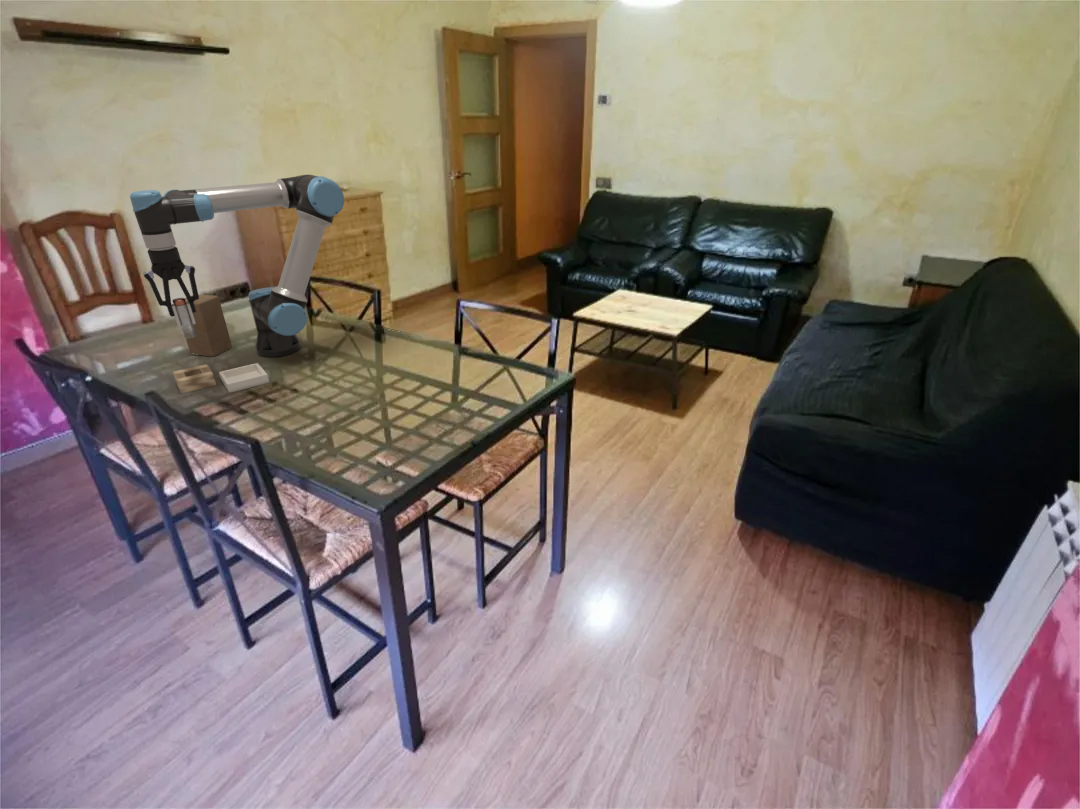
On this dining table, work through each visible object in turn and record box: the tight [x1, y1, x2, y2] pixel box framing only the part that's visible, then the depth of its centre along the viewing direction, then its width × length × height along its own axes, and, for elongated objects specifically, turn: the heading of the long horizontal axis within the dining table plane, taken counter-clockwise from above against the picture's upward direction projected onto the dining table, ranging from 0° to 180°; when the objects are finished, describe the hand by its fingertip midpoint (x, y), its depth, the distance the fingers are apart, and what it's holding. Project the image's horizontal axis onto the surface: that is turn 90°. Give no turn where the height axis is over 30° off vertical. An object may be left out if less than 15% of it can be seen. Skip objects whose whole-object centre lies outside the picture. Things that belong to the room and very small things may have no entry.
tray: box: [218, 362, 270, 394], centre depth 184 cm, size 12×12×3 cm
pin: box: [171, 297, 196, 339], centre depth 173 cm, size 3×3×12 cm
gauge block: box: [172, 363, 217, 394], centre depth 182 cm, size 10×10×4 cm
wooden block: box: [184, 294, 233, 358], centre depth 204 cm, size 10×10×20 cm
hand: (186, 324), depth 174 cm, fingers closed on pin, 3 cm apart
